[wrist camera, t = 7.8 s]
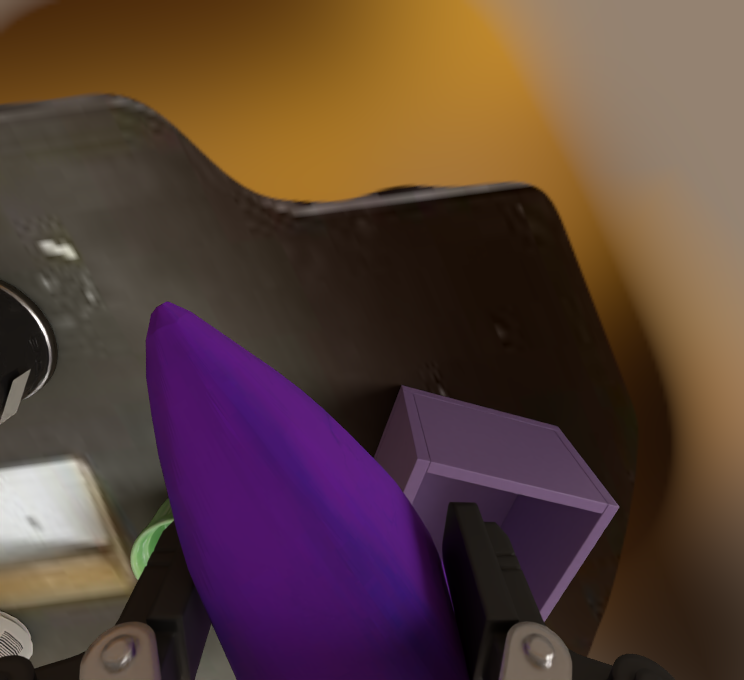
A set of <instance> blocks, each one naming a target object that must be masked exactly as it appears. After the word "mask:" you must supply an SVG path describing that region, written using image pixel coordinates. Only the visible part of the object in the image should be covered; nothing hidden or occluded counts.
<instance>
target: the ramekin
mask: <svg viewBox="0 0 744 680" xmlns="http://www.w3.org/2000/svg"><path fill="white" fill-rule="evenodd" d="M173 521H174V518H173V513H172V509H171V505H170V501H169V498H168V499H167V500H166V501H165V502H164V503H163V504H162V506H161V507H160V508H159V510H158V511H157V513H156V514H155V516H154V518H153V519H152V521H151V522H150V524H149V525H148V526H147V527H146V528H145V529H144V530H143V531H142V532H141V533H140V534H139V536H138V537H137V539H136V540H135V542H134V544H133V547H132V550H131V555H130V563H131V568H132V571H133V573H134V575H135V577H136V579H137V580H139V578H140V576H141V574H142V572H143V570H144V568H145V566H147V562H148V560H149V558H150V556H151V554H152V552H154V548H155V546H156V544H157V542H158V540H159V538H160V536H161V534H162V532H163V530H164V529H166V528H167V527H168V526H169V525H170V524H171V523H172V522H173Z"/></svg>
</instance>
